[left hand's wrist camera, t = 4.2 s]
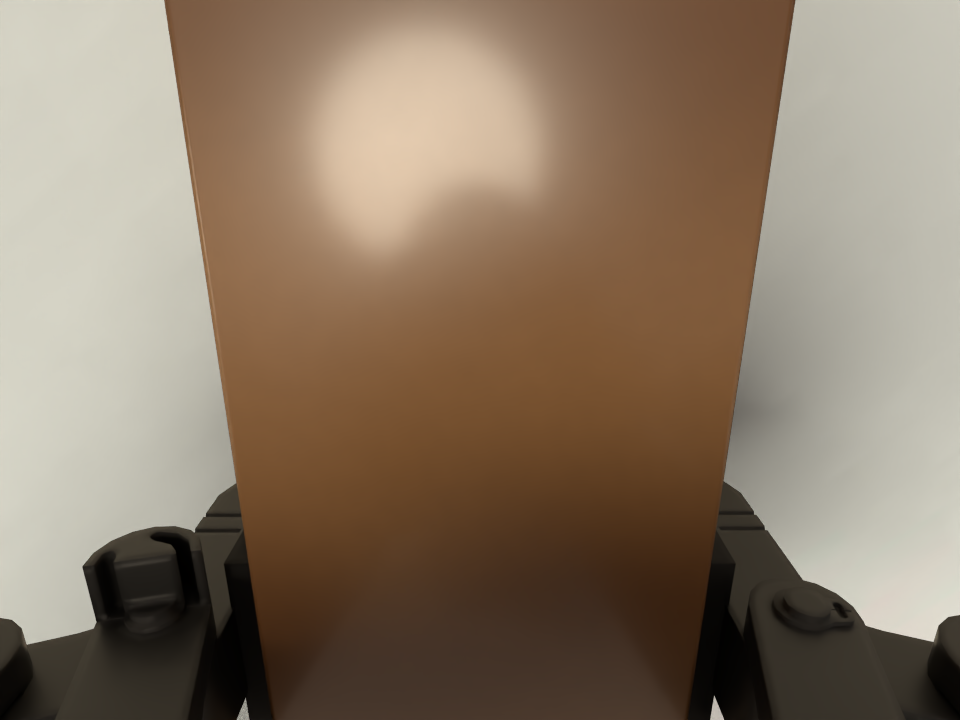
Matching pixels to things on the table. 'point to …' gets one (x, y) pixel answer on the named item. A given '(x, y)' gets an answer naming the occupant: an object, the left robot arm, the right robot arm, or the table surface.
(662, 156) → the bar
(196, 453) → the table surface
